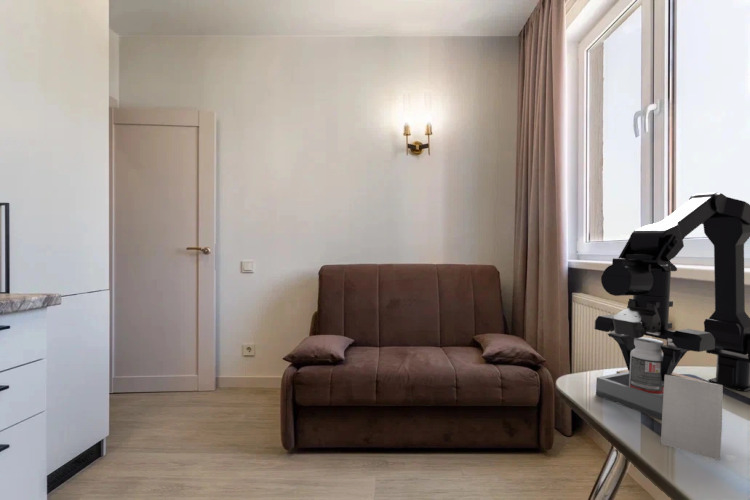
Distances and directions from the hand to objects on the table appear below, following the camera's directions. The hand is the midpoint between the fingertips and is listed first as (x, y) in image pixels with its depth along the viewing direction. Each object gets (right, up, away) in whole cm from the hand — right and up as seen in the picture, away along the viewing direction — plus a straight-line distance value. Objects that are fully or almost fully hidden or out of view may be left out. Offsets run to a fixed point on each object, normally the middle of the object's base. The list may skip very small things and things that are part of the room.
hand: (647, 376), depth 77 cm
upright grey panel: (-5, -5, -17) cm, 19 cm away
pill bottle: (0, -3, 0) cm, 3 cm away
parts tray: (0, -5, 0) cm, 5 cm away
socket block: (+9, -5, +10) cm, 14 cm away
